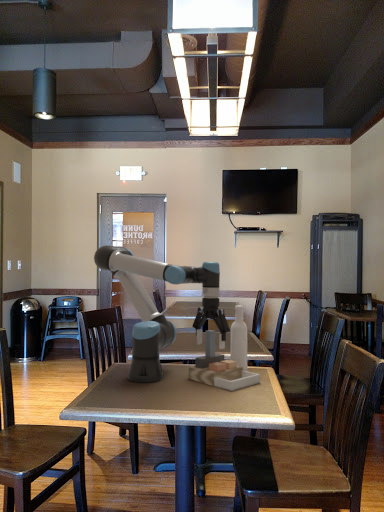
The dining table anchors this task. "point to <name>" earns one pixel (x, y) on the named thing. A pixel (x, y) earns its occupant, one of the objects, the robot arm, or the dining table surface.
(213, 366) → the tile
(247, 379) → the box
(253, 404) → the dining table surface
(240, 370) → the striped wooden block
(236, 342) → the bottle
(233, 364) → the tile
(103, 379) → the dining table surface
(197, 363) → the grey post
